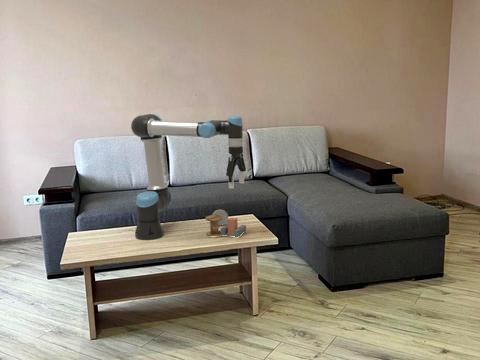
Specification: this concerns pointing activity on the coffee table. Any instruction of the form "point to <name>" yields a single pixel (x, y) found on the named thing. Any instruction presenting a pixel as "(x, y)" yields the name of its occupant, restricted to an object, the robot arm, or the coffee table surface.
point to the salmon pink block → (232, 225)
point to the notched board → (236, 232)
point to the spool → (214, 225)
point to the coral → (224, 216)
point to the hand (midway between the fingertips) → (236, 185)
